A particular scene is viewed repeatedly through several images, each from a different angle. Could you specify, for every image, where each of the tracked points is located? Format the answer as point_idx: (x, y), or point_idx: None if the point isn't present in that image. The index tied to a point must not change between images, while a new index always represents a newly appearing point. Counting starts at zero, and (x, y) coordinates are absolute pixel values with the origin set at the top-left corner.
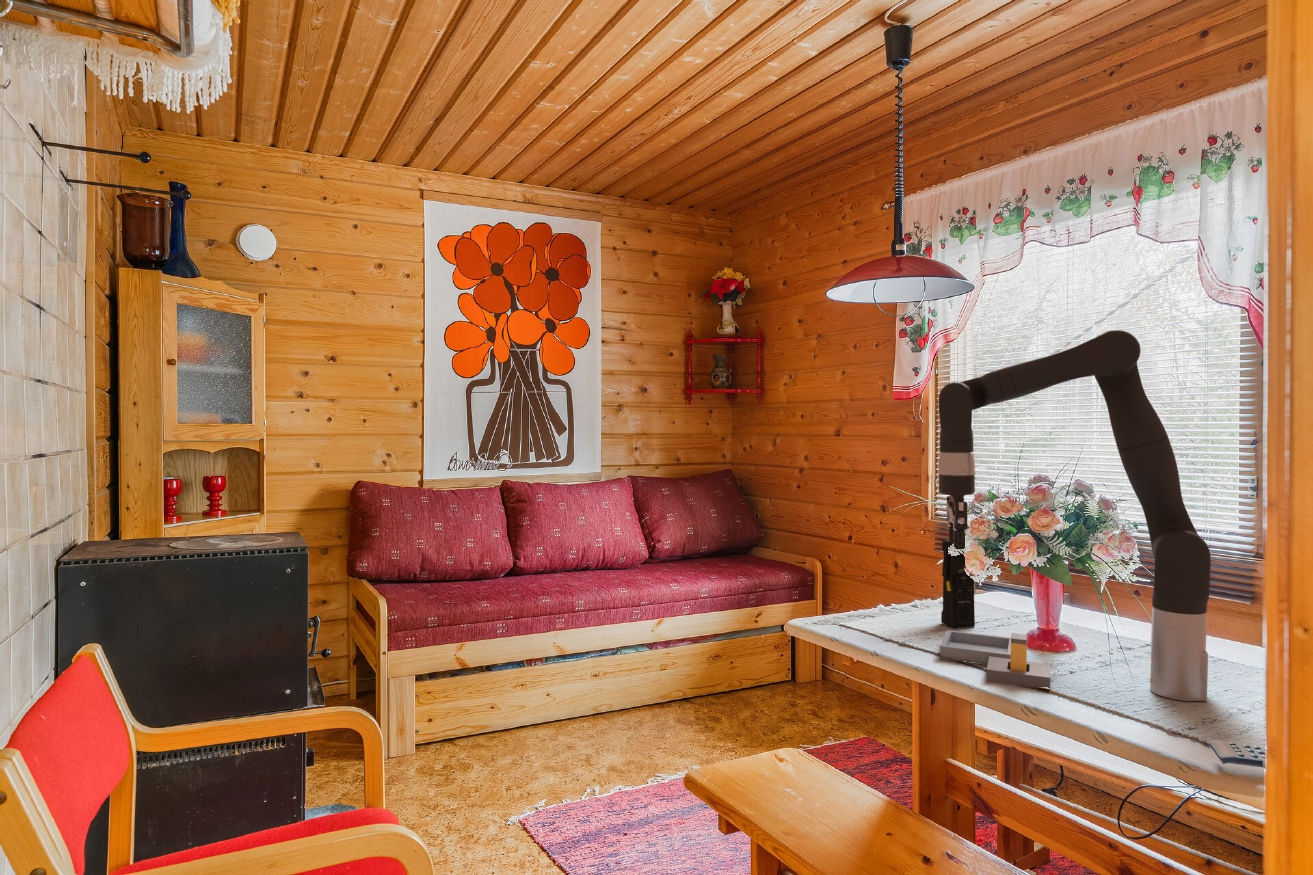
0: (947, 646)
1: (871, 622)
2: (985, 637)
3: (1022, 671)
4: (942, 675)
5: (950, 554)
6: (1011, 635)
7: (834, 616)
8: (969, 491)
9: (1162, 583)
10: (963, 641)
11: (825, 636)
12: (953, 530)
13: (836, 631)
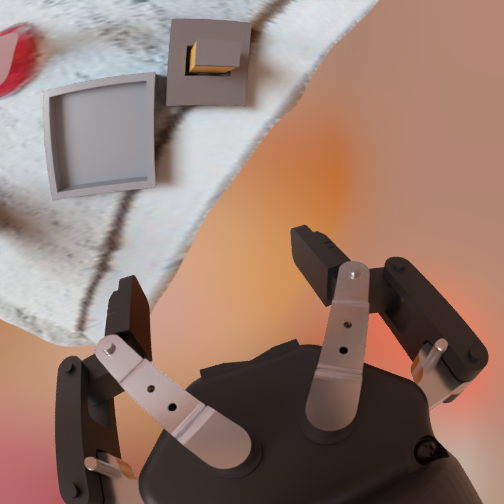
0: (151, 176)
1: (41, 305)
2: (51, 136)
3: None
4: (238, 164)
5: None
6: (216, 65)
7: (54, 342)
8: (463, 471)
9: None
10: (59, 168)
11: None
12: (142, 332)
13: None
